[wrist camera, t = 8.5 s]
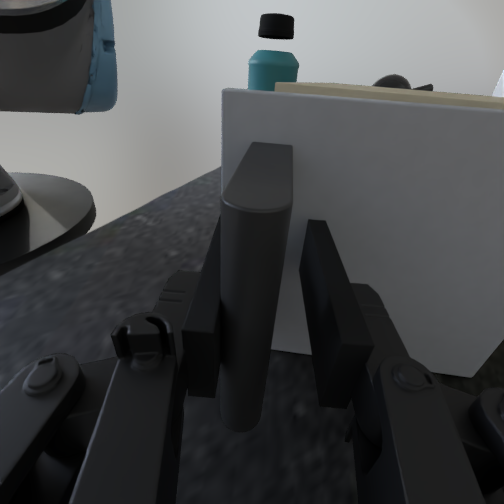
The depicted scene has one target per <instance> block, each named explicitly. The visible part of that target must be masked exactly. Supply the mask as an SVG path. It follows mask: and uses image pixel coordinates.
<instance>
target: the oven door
mask: <svg viewBox="0 0 504 504" xmlns="http://www.w3.org/2000/svg"><path fill="white" fill-rule="evenodd" d="M308 219H312V220H325V221H326V222H327V225H328V227H329V230H330V232H331V235H332V238H333V240H334V243H335V245H336V248H337V250H338V253H339V255H340V258H341V260H342V263H343V266H344V268H345V271H346V273H347V276H348V278H349V281H350V283H361V284H368V285H369V286H370V287H372V288H373V289H374V290H375V291H376V292H377V293H378V294H379V296H380V298H381V300H382V302H383V304H384V306H385V307H384V308H386V310H387V312H388V314H389V318H391V320H392V322H393V324H394V326H395V328H396V330H397V332H398V334H399V336H400V338H401V340H402V342H403V344H404V346H405V348H406V350H407V352H408V354H409V356H410V357H411V358H413V359H415V360H416V361H418V362H419V363H421V364H423V365H424V366H425V367H426V368H427V369H428V370H429V371H430V372H435V373H442V374H449V375H456V376H463V377H470V378H471V377H473V376H474V375H475V373H476V372H477V371H478V370H479V368H480V367H481V366H482V365H483V364H484V362H485V361H486V360H487V359H488V358H489V356H490V355H491V354H492V353H493V352H494V350H495V349H496V348H497V347H498V345H499V344H500V343H501V342H502V341H503V339H504V110H503V109H491V108H478V107H465V106H452V105H440V104H427V103H414V102H401V101H389V100H376V99H363V98H351V97H338V96H325V95H312V94H300V93H287V92H274V91H261V90H249V89H235V88H226V89H223V90H222V169H221V363H220V413H221V418H222V421H223V423H224V424H225V425H226V426H227V427H228V428H229V429H230V430H232V431H235V432H247V431H249V430H251V429H253V428H254V427H255V426H256V425H257V423H258V422H259V420H260V417H261V411H262V404H263V398H264V391H265V385H266V378H267V371H268V365H269V358H270V352H271V349H273V350H280V351H287V352H294V353H301V354H308V355H312V353H311V346H310V340H309V333H308V327H307V321H306V314H305V308H304V301H303V295H302V288H301V282H300V275H299V266H300V261H301V255H302V250H303V245H304V239H305V234H306V229H307V223H308Z"/></svg>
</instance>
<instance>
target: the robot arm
mask: <svg viewBox="0 0 504 504" xmlns="http://www.w3.org/2000/svg"><path fill="white" fill-rule="evenodd" d="M114 45H115V41H114V25H113V16H112V7H111V0H0V111H11V112H12V111H13V112H42V113H74V114H78V115H79V114H82V113H84V112H104V111H108V110H110V109H112V108H113V106H114V105H115V103H116V101H117V64H116V53H115V49H114ZM24 204H25V202H24V199H23V196H22V194H21V191H20V189H19V187H18V186H17V184H16V183H15V181H14V180H13V179H12V178H11V177H10V176H9V175H8V173H7V172H6V171H5V170H4V169H3V168H2V166H1V165H0V224H1V223H3V222H5V221H7V220H9V219H10V218H12V217H13V216H15V215H16V214H17V213H18V212H20V211H21V209H22V208H23V206H24ZM299 275H300V282H301V288H302V295H303V301H304V308H305V314H306V321H307V327H308V333H309V340H310V346H311V353H312V359H313V366H314V372H315V379H316V385H317V391H318V398H319V404H320V407H331V408H344V409H346V408H347V406H348V404H349V402H350V400H351V398H352V402H353V406H354V410H355V416H354V418H353V420H352V422H351V424H350V426H349V428H348V430H347V432H346V436H345V442H349V441H350V439H351V437H353V448H354V459H355V470H356V481H357V492H358V502H359V504H504V389H502V388H497V387H491V388H487V389H484V391H483V392H482V393H481V394H480V395H479V396H478V397H477V396H474V395H471V394H468V393H466V392H463V391H460V390H457V389H454V388H452V387H449V386H446V385H444V384H441V383H439V382H438V381H437V380H436V378H435V376H434V375H433V374H432V373H431V372H430V371H429V370H428V369H427V368H426V367H425V366H424V365H423V364H421V363H419V362H418V361H416V360H415V359H413V358H411V357H410V356H409V354H408V352H407V350H406V348H405V346H404V344H403V342H402V340H401V338H400V336H399V334H398V332H397V330H396V328H395V326H394V324H393V322H392V320H391V318H389V314H388V312H387V310H386V308H384V307H385V306H384V304H383V302H382V300H381V298H380V296H379V294H378V293H377V292H376V291H375V290H374V289H373V288H372V287H370V286H369V285H368V284H361V283H350V281H349V278H348V276H347V273H346V271H345V268H344V266H343V263H342V260H341V258H340V255H339V253H338V250H337V248H336V245H335V243H334V240H333V238H332V235H331V232H330V230H329V227H328V225H327V222H326V221H325V220H312V219H308V223H307V229H306V234H305V239H304V245H303V250H302V255H301V261H300V266H299ZM111 338H112V341H113V344H114V347H115V351H116V354H117V356H115V357H112V358H109V359H105V360H100V361H95V362H90V363H85V364H80V365H79V363H78V362H77V360H76V359H75V357H73V356H71V355H68V354H51V355H48V356H44V357H41V358H39V359H37V360H35V361H33V362H32V363H30V364H28V365H27V366H25V367H24V368H23V369H22V370H21V371H19V372H18V373H17V374H16V375H15V376H14V377H13V378H12V379H11V380H10V381H9V382H8V384H7V385H6V386H5V387H4V388H3V389H2V390H1V391H0V504H176V494H177V483H178V473H179V462H180V452H181V441H182V431H183V420H184V409H183V402H184V398H185V395H186V391H187V388H188V396H197V397H209V398H215V393H216V387H217V381H218V375H219V369H220V363H221V214H220V217H219V220H218V223H217V226H216V229H215V232H214V235H213V238H212V241H211V243H210V246H209V249H208V252H207V255H206V258H205V261H204V264H203V267H202V270H201V272H195V271H182V270H178V271H177V272H176V273H175V274H174V275H172V276H171V277H170V278H169V279H168V281H167V283H166V285H165V287H164V289H163V292H162V293H161V295H160V297H159V301H157V303H156V305H155V307H154V310H153V312H145V313H139V314H135V315H133V316H131V317H128V318H126V319H125V320H123V321H122V322H121V323H120V324H118V325H117V326H116V327H115V329H114V330H113V332H112V333H111Z"/></svg>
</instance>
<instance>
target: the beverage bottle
mask: <svg viewBox="0 0 504 504" xmlns="http://www.w3.org/2000/svg"><path fill="white" fill-rule="evenodd" d="M258 36H259V37H262V38H269V39H293V36H294V18H293V17H292V16H289V15H284V14H277V13H273V14H263V15H261V18H260V27H259V33H258ZM298 68H299V63H298V61H297V60H296V58H295V57H294V55H293V54H292V53H289V52H281V51H271V50H258V51H257V52H256V53H255V54H254V55H253V56H252V57H251V58H250V60H249V79H248V89H249V90H261V91H274V92H275V83H276V82H296V81H297V73H298Z"/></svg>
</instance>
